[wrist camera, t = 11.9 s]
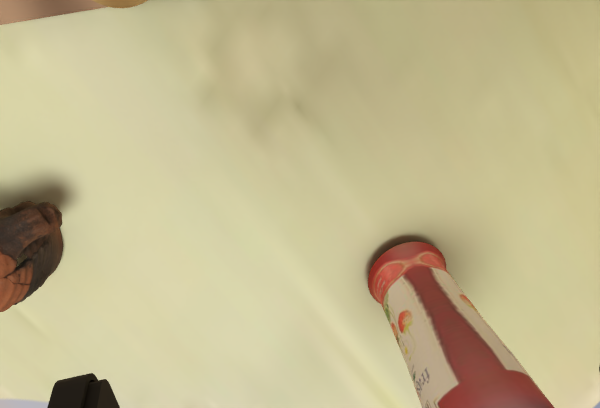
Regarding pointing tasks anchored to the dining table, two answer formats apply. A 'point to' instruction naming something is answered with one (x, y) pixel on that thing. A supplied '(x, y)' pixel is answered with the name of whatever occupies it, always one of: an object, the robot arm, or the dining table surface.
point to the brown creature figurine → (28, 249)
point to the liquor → (446, 335)
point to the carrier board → (53, 8)
